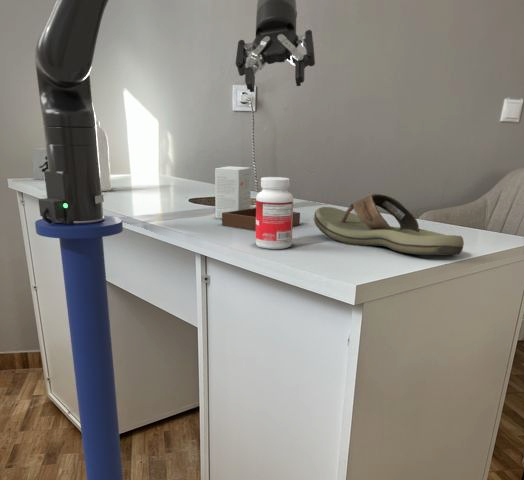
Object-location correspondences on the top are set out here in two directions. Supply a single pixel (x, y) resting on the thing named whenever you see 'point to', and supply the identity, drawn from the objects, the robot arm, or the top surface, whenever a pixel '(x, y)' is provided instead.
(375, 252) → the top surface
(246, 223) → the tray
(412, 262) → the top surface
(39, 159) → the icon cube
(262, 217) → the pill bottle
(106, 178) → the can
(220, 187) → the small box
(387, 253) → the top surface
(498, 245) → the top surface
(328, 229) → the flip flop
